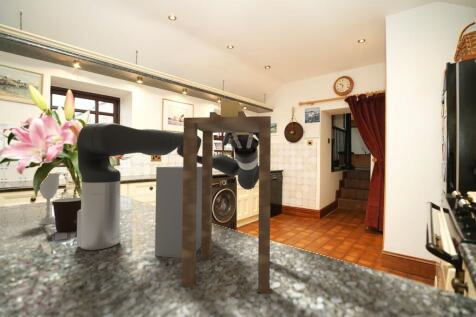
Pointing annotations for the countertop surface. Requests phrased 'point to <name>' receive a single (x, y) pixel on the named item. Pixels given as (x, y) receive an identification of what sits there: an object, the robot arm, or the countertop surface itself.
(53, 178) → the chalice
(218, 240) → the countertop surface
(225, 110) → the yellow bar
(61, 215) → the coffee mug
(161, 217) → the block
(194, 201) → the stool
